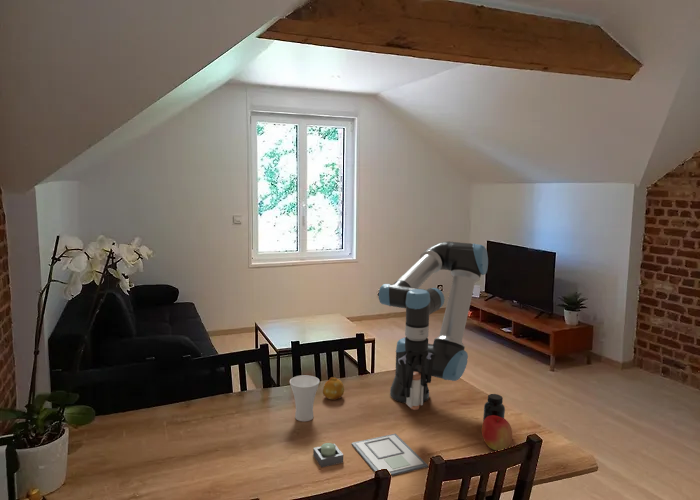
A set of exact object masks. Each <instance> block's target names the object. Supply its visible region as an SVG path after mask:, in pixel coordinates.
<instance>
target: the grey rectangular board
mask: <svg viewBox="0 0 700 500" xmlns="http://www.w3.org/2000/svg"><path fill="white" fill-rule="evenodd" d="M350 444H351V446H352V447H353V448H354V449H355V451H356V452H357V453H358V454H359V455H360V456H361V458H362V459H363V460H364V461H365V463H366V464H367V465H368V466H369V467H370V469H371V470H372V472H373V473H375V471H377V470H381V469H387V470H388V471H389V472H390V473H391V475H392V476H396V475H401V474H405V473H409V472H412V471H413V472H414V471H417V470H420V469H425V468H426V469H427V468H428V467H429V465H428V463H427V462H426V461H424V459H422V457H420V455H418V454H417V453H416V451H414V450H413V449H412V448H411V447H410V446H409V445H408V444H407V443H406V442H405V441H404V440H403V439H402V438H401V437H399V435H397V433H391V434H386V435H382V436H378V437H372V438H368V439H363V440H359V441H353V442H351V443H350ZM392 476H391V477H392Z"/></svg>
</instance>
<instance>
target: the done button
mask: <svg viewBox="0 0 700 500" xmlns="http://www.w3.org/2000/svg"><path fill="white" fill-rule="evenodd" d="M334 444H335V443H332V442H326V443H325V442H324V443H323V444H321V455H322V456H323V457H328V456H332V455H335V452H336V446H337V445H336V444H335V445H336V446H335V445H334Z"/></svg>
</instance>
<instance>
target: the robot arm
mask: <svg viewBox="0 0 700 500" xmlns="http://www.w3.org/2000/svg"><path fill="white" fill-rule="evenodd" d="M488 266H489V257H488V250H487V248H486V247H485V245H483V244H478V243H469V242H458V241H442V242H438V243H436V244H433V245H432V246H429V247H428V248H427V249H426V250H424V251H423V252H422V253H421V254H420V256H419V259H418V260H417V261H416V262H415V263H414V264H413V265H411V266H410V267H409V268H408V269H407V270H406V271H405V272H404V273H403V274H402V275H401V276H400V277H399V278H398V279H397V280H396V281H395V282H394V283H383V284H382V285H381V286H380V288H379V290H378V300H379V303H380V304H381V305H385V306H389V307H394V308H398V309H399V308H400V309H401V308H402V309H405V326H404V327H405V330H404V331H405V333H404V335H405V337H402V338H400V339H399V340H398V341H397V343H396V349H395V374H394V375H395V376H394V379H393V381H392V384H391V385H390V389H389V395H390V397H391V399H393V400H394V401H397V402H399V403H403V404H406V405H407V406H408V407H409V408H410V409H411V407H412V405H413V388H411V384H412V379H413V373H414V372H419V373H421V384H420V405H419V406H423V405H424V402H427V401H428V400H429V398H430V390H429V386H428V384H430V383H432V377H435V378H439V379H442V380H444V381H452V382H455V381H458V380H460V379H461V378H462V376H463V375H464V373H465V370H466V369H467V366H468V365H467V364H468V357H469V355H468V352H467V351H466V350H465V348H466V347H465V344H464V343H463V337H464V334H465V328H466V324H467V321H468V320H467V319H468V317H469V311H470V307H471V303H472V302H471V301H472V297H473V294H474V289H475V285H476V283H477V282H478V281H480V280H481V276H483V275H484V276H485V275H486V274H487V273H488ZM440 270H441V271H444V270H445V271H450V273H449V274H450V275H451V276H452V280H451V281H452V282H451V286H450V290H449V294H448V297H447V301H446V306H445V311H444V314H443V319H442V323H441V328H440V332H439V335H438V336H437V337H435V338H434V340H433V343H429V329H430V315H431V314H433V313H435V312H437V311H439V310H440V309H441V307H443V306H444V304H445V300H446V299H445V295H444V292H443V291H442V290H441V289H439V288H437V287H432V288H431V287H430V288H428V289H426V288H425V289H424V288H420V287H422V286H423V284H424V283H425V282H426V281H427V280H428V279H429V278H430V277H431V276H432V275H433V274H435V273H436V274H437V273H438V272H439V271H440Z"/></svg>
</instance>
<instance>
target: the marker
mask: <svg viewBox="0 0 700 500" xmlns="http://www.w3.org/2000/svg"><path fill="white" fill-rule="evenodd" d="M420 384H421V373H419V372H414V373H413V379H412V384H411V388H413V405H412V407H411V408H410V409H411V410H413V411H417V410H419V409H420V406H421V405H420Z"/></svg>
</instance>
